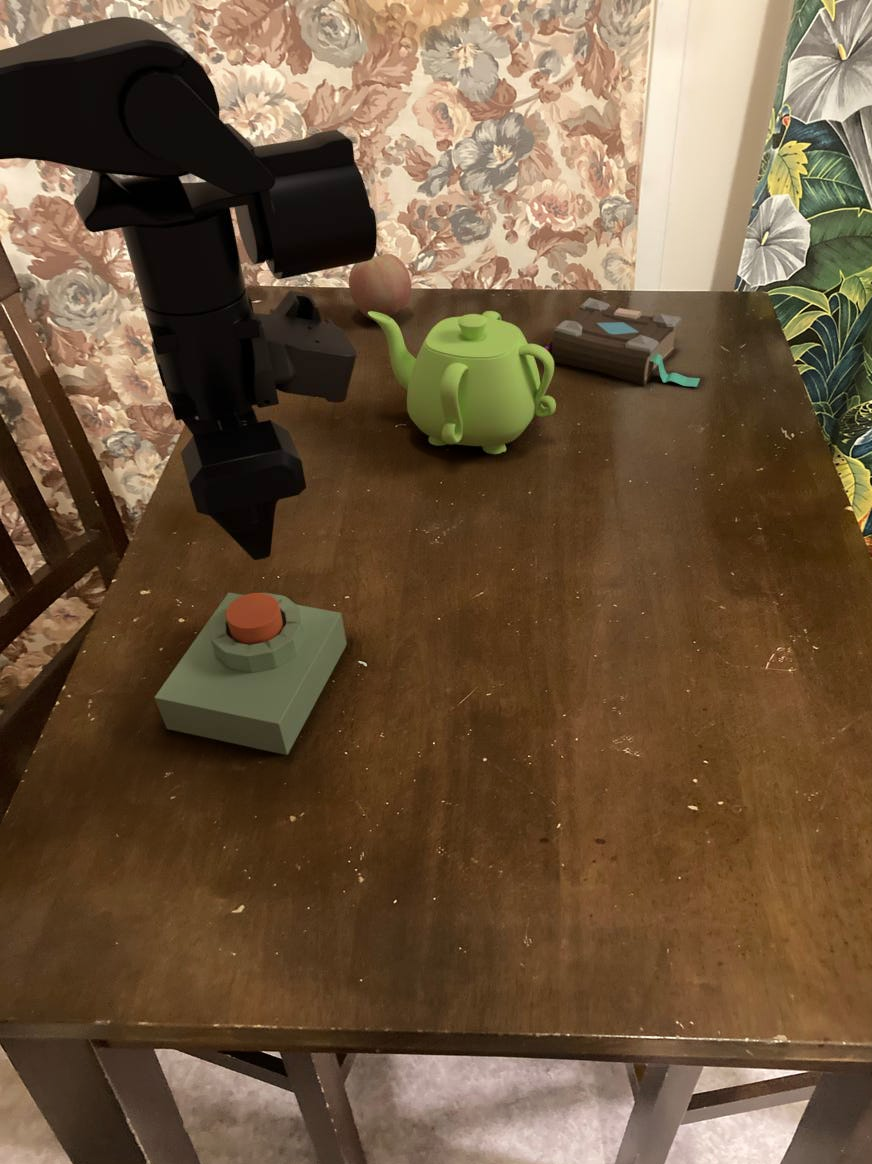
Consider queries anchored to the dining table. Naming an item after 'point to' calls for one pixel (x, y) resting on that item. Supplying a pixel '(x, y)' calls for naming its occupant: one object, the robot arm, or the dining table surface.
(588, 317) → the book
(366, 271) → the apple
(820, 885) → the dining table surface
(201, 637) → the push button box
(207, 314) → the robot arm
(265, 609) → the lid button
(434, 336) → the teapot
